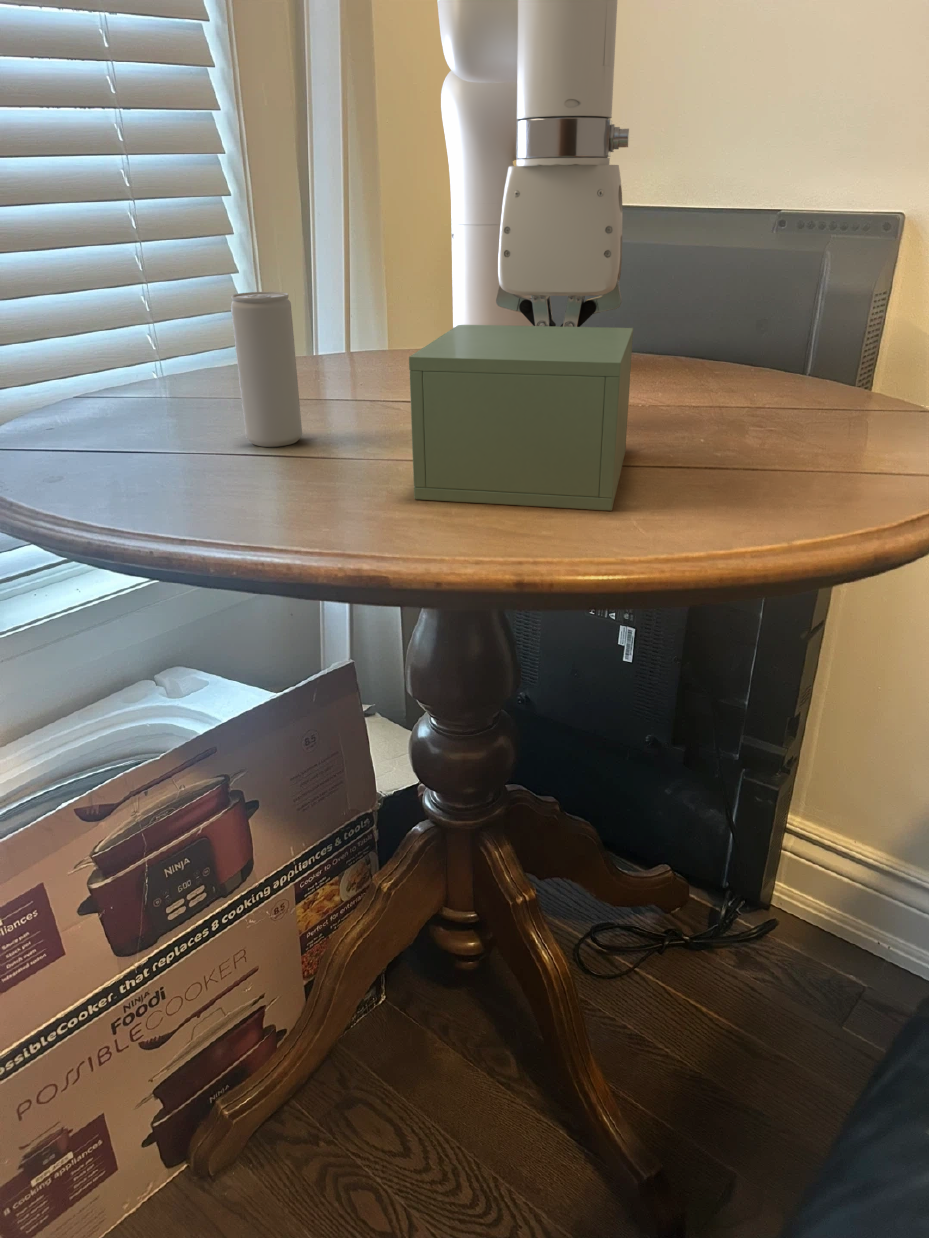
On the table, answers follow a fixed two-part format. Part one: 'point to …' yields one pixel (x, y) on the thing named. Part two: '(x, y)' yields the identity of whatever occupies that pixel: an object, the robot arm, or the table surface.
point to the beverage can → (267, 367)
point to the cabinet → (521, 415)
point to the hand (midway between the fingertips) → (556, 377)
